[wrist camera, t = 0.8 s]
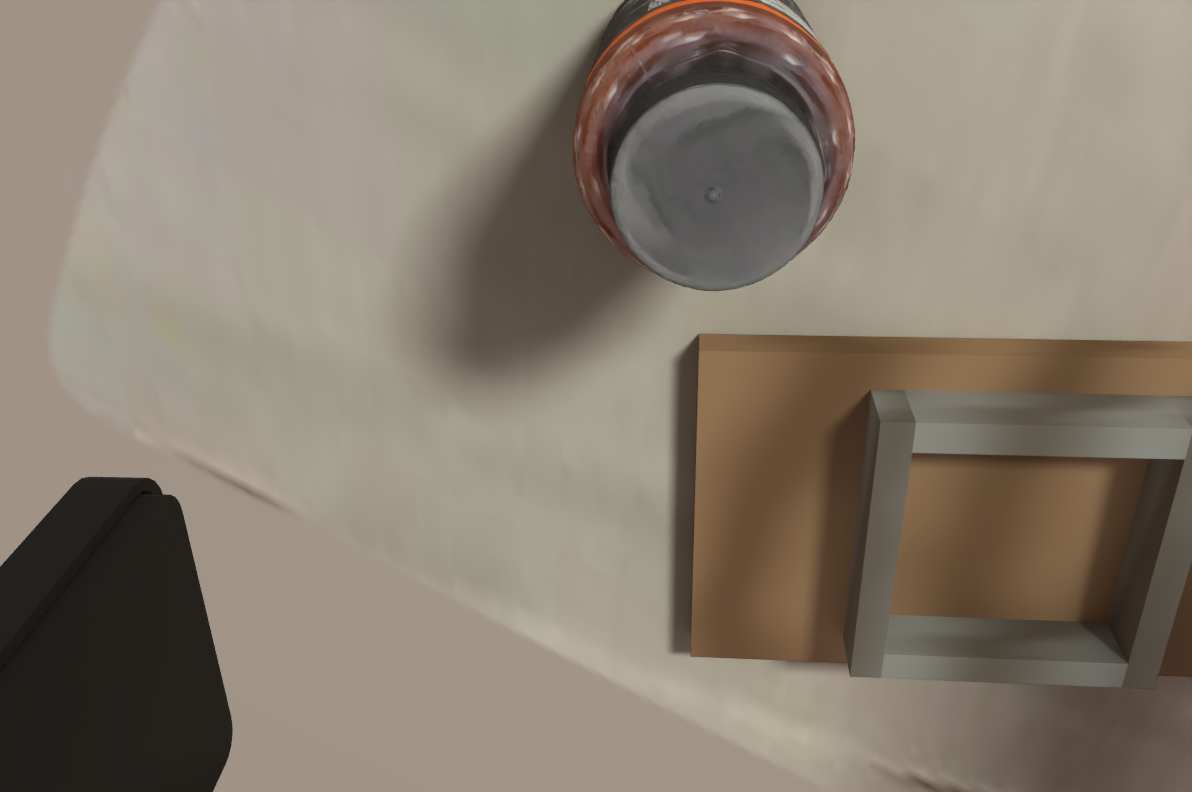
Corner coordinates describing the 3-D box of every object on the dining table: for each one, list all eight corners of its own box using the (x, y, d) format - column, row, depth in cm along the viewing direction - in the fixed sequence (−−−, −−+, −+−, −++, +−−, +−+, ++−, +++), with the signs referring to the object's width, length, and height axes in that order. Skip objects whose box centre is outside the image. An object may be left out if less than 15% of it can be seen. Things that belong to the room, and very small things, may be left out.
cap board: (1377, 345, 32) (1443, 395, 29) (1267, 656, 38) (1313, 724, 35) (699, 333, 34) (699, 381, 31) (690, 633, 39) (690, 697, 36)
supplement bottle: (705, 217, 32) (710, 398, 22) (554, 75, 30) (485, 202, 20) (861, 65, 29) (946, 192, 19) (706, -97, 28) (712, -49, 18)
